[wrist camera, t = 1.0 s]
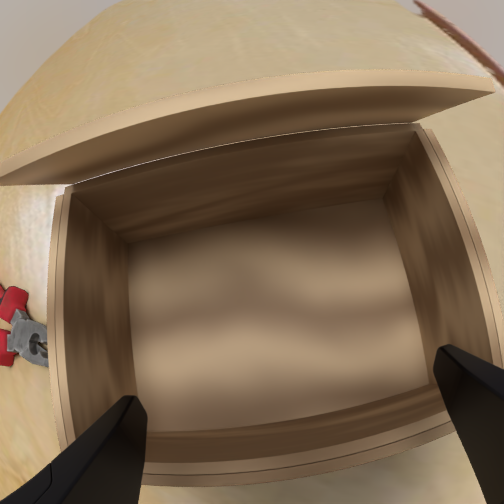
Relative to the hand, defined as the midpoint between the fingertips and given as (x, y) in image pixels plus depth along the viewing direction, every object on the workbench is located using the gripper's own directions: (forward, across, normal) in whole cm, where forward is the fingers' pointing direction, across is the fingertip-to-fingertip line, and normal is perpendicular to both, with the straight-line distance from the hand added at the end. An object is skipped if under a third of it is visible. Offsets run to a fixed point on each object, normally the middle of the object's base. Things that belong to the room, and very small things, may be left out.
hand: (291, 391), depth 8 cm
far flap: (+7, +1, -7) cm, 10 cm away
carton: (+13, 0, +6) cm, 14 cm away
